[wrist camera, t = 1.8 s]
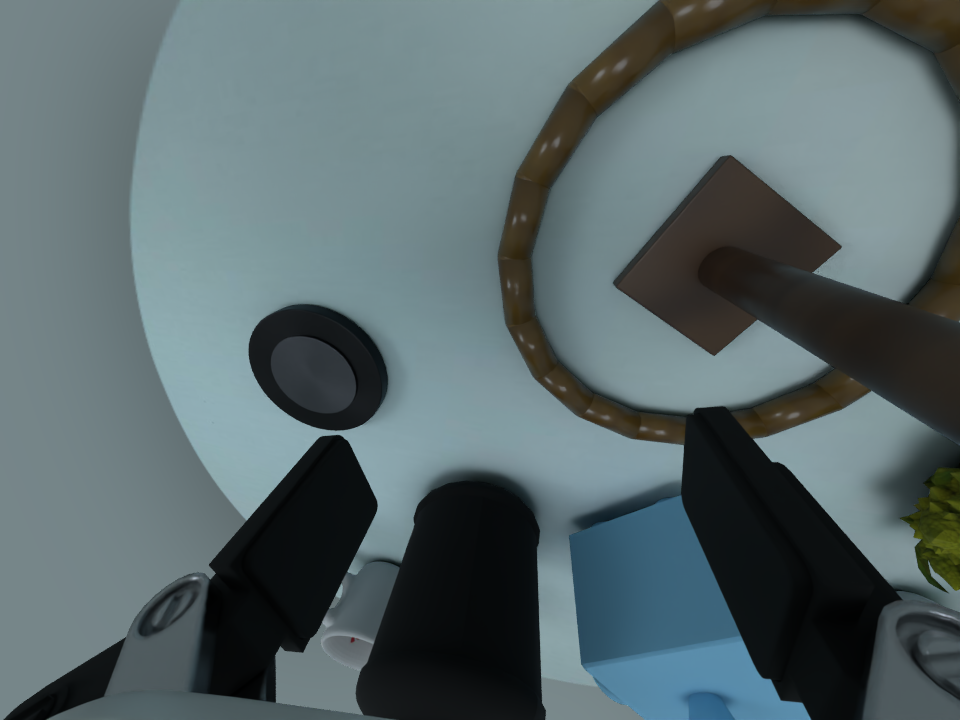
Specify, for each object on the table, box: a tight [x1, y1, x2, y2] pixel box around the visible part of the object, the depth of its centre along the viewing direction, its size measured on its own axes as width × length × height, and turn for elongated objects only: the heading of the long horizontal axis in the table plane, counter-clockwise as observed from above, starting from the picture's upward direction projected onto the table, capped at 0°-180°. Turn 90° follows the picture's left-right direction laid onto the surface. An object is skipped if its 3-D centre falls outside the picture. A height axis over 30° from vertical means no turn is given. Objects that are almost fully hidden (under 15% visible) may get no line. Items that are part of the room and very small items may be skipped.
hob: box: [249, 305, 387, 431], centre depth 27 cm, size 11×11×1 cm
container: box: [356, 481, 546, 720], centre depth 25 cm, size 12×12×18 cm
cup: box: [321, 561, 400, 671], centre depth 37 cm, size 11×8×8 cm
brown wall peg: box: [613, 155, 960, 446], centre depth 13 cm, size 8×8×15 cm
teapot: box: [569, 495, 811, 720], centre depth 26 cm, size 18×16×13 cm
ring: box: [498, 0, 960, 445], centre depth 19 cm, size 25×25×2 cm
